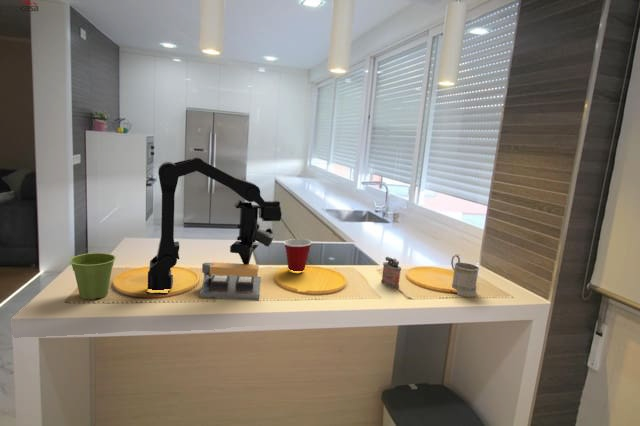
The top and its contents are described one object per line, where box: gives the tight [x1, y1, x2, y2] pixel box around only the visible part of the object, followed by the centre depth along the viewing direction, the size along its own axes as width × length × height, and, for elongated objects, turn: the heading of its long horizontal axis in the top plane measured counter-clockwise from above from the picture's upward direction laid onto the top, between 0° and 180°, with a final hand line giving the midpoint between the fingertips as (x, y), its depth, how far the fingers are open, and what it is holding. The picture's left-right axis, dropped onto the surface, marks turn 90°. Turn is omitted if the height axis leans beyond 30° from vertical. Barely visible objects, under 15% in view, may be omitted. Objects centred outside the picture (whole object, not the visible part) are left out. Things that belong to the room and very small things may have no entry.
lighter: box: [380, 256, 402, 290], centre depth 152 cm, size 8×3×10 cm, turn 34°
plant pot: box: [68, 252, 117, 301], centre depth 121 cm, size 12×12×11 cm
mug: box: [450, 253, 480, 298], centre depth 153 cm, size 14×10×12 cm
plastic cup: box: [283, 238, 313, 271], centre depth 158 cm, size 11×11×12 cm
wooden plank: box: [201, 261, 260, 277], centre depth 135 cm, size 18×5×2 cm, turn 94°
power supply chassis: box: [199, 273, 262, 300], centre depth 136 cm, size 18×17×5 cm
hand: (246, 266), depth 139 cm, fingers closed
